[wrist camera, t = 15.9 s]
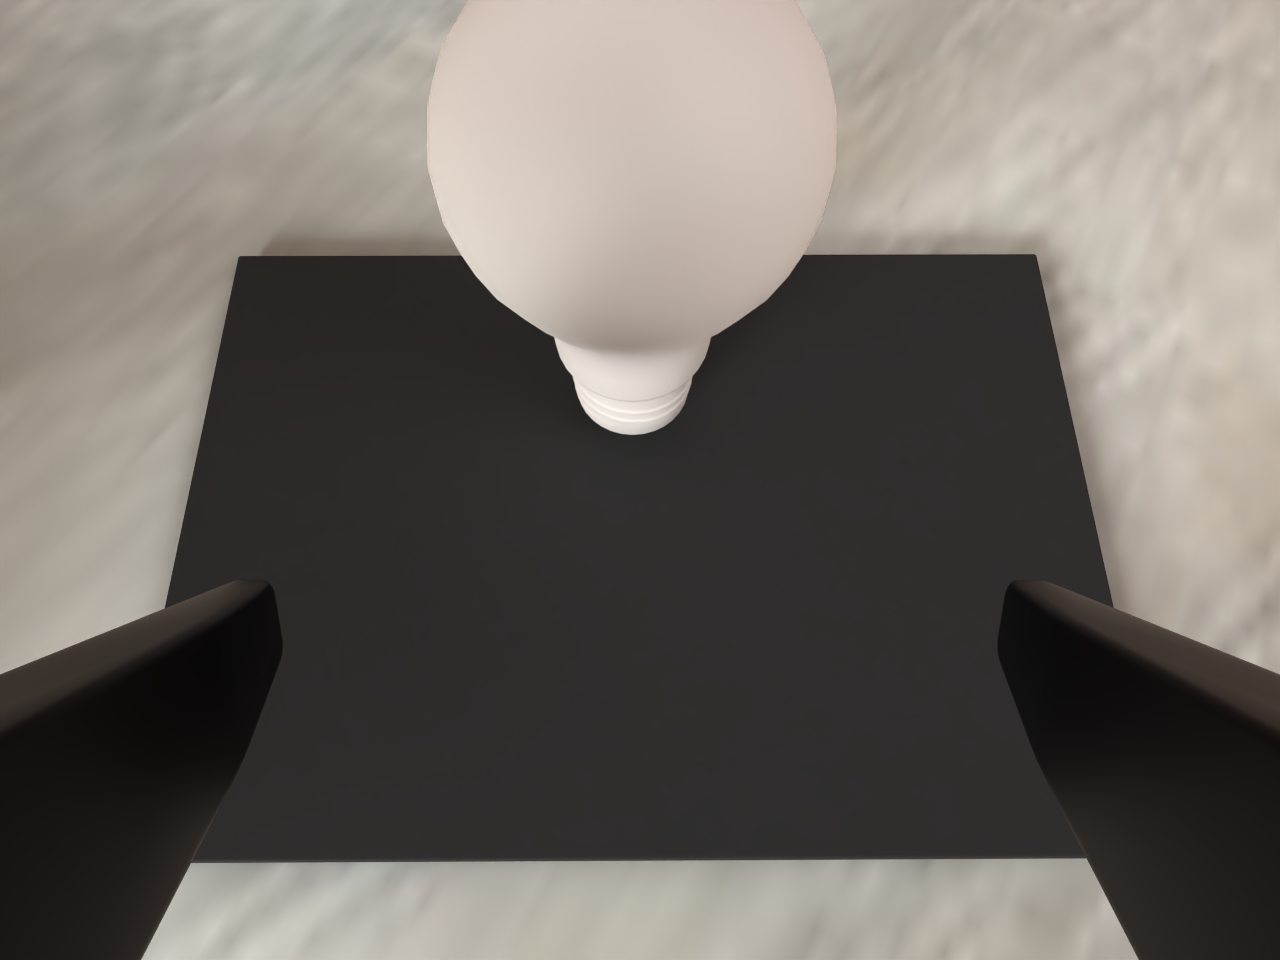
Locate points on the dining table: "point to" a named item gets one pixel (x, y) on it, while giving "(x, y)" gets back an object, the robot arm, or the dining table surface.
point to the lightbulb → (631, 176)
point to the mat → (639, 571)
